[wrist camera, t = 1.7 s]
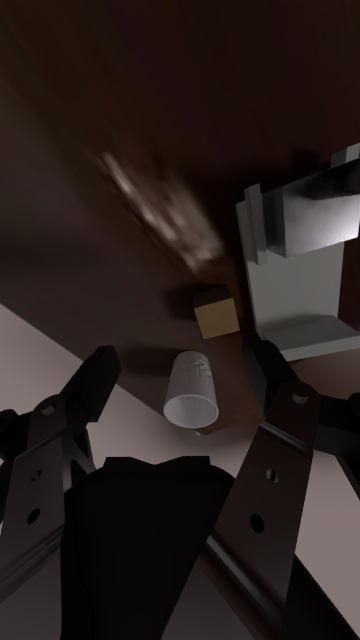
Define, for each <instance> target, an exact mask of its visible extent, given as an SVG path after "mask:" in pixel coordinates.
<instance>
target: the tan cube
mask: <svg viewBox="0 0 360 640" xmlns="http://www.w3.org/2000/svg"><path fill="white" fill-rule="evenodd" d="M194 311H195V314H196V317H197V320H198V323H199V326H200V329H201V332H202V335H203V338H204V339H206V338H210V337H214V336H219V335H223V334H227V333H231V332H236V331H240V329H239V325H238V320H237V315H236V310H235V306H234V301H233V297H232V295H231V293H230V291H229V289H228V287H227V285H225V286H221V287H218V288H214V289H211V290H207V291H204V292H201V293H197V294H194Z"/></svg>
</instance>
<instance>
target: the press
mask: <svg viewBox="0 0 360 640" xmlns="http://www.w3.org/2000/svg"><path fill="white" fill-rule="evenodd" d="M359 148H360V143H358V144H356V145H353V146H351V147H348V148H346V149H344V150H342V151H339V152H337V153H335V154H333V155H332V158H331V167H334V166H337V165H339V164H342V163H345V162H347V161H350V160H353V159H355V158H358V157H359ZM328 169H329V168H328ZM320 172H321V171H320ZM315 174H316V173H315ZM307 177H308V176H307ZM302 179H303V178H302ZM294 182H295V181H294ZM289 184H290V183H289ZM276 189H277V188H276ZM244 194H245V201H243V202H240V203H237V204H235V205H236V211H237V217H238V224H239V230H240V236H241V242H242V248H243V255H244V261H245V267H246V273H247V280H248V286H249V292H250V298H251V304H252V311H253V317H254V323H255V329H256V332H257V333H258V334H259V336H260V337H261V339H262V340H269V341H271V342H272V343H273V344H275V345H276V346H277V348H278V349H279V351H280V353H282V355H283V356H284V359H286V361H291V360H296V359H301V358H307V357H312V356H318V355H323V354H328V353H333V352H339V351H345V350H350V349H356V348H359V347H360V333H358V332H357V331H355V330H354V329H352V328H351V327H349V326H348V325H347V324H345V323H344V322H342V321H341V320H339V319H338V318H337V314H338V303H339V292H340V281H341V270H342V259H343V248H344V241H342V242H339V243H336V244H332V245H329V246H326V247H322V248H319V249H316V250H312V251H309V252H306V253H302V254H299V255H296V256H292V257H289V258H284V257H282V256H280V255H277V254H275V253H273V252H270V251H268V246H267V236H266V226H265V216H264V206H263V195H262V194H261V192H260V183H258V184H256V185H253V186H250V187H248V188H247V189H245V190H244ZM263 194H264V193H263Z"/></svg>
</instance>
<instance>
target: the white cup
mask: <svg viewBox="0 0 360 640" xmlns="http://www.w3.org/2000/svg"><path fill="white" fill-rule="evenodd" d="M164 415H165V416H166V418H167V419H168V420H169V421H170V422H172V423H173V424H175V425H178V426H181V427H185V428H201V427H205V426H207V425H210V424H211V423H213V422H214V421H215V420H216V418H217V417H218V407H217V401H216V396H215V390H214V384H213V379H212V374H211V371H210V365H209V362H208V359H207V357H206V356H204V355H203V354H202V353H200V352H196V351H185V352H183V353H181V354H179V355H178V356H177V357H176V358H175V360H174V365H173V370H172V372H171V376H170V380H169V385H168V390H167V395H166V399H165V404H164Z"/></svg>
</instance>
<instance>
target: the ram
mask: <svg viewBox="0 0 360 640" xmlns="http://www.w3.org/2000/svg"><path fill="white" fill-rule="evenodd" d="M262 195H263V206H264V216H265V226H266V236H267V246H268V251H270V252H273V253H275V254H277V255H280V256H282V257H284V258H289V257H292V256H296V255H299V254H302V253H306V252H309V251H312V250H316V249H319V248H322V247H326V246H329V245H332V244H336V243H339V242H342V241H346V240H349V239H352V238H356V237H357V236H358V228H359V220H360V157H358V158H355V159H353V160H350V161H347V162H345V163H342V164H339V165H337V166H334V167H331V168H329V169H326V170H323V171H321V172H318V173H316V174H313V175H310V176H308V177H305V178H303V179H300V180H297V181H295V182H292V183H290V184H287V185H284V186H282V187H279V188H277V189H274V190H271V191H269V192H266V193H264V194H262Z"/></svg>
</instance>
